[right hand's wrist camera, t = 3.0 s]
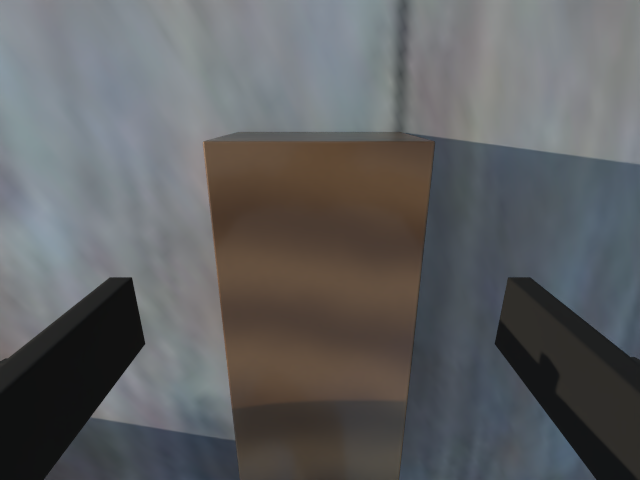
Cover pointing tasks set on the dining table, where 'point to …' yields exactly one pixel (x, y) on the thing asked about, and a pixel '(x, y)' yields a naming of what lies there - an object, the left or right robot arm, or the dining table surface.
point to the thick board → (319, 295)
